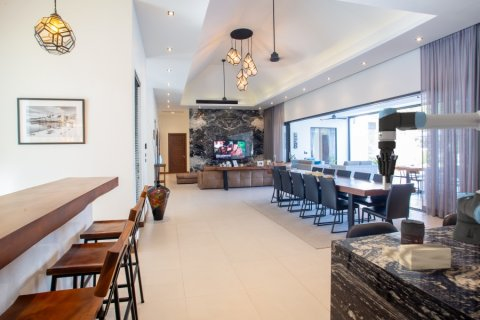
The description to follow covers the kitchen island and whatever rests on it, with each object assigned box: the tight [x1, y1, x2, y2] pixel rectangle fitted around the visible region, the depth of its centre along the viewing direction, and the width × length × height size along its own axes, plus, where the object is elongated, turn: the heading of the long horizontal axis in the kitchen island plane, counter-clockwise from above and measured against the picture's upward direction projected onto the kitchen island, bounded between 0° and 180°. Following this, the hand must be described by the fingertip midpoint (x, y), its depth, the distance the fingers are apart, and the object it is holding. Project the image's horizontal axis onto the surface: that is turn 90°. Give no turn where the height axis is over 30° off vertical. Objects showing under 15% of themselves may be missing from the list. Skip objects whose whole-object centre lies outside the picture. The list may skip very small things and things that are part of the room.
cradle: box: [381, 243, 452, 271], centre depth 110 cm, size 17×16×7 cm
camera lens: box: [399, 218, 426, 246], centre depth 111 cm, size 8×8×15 cm
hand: (386, 189), depth 136 cm, fingers closed
